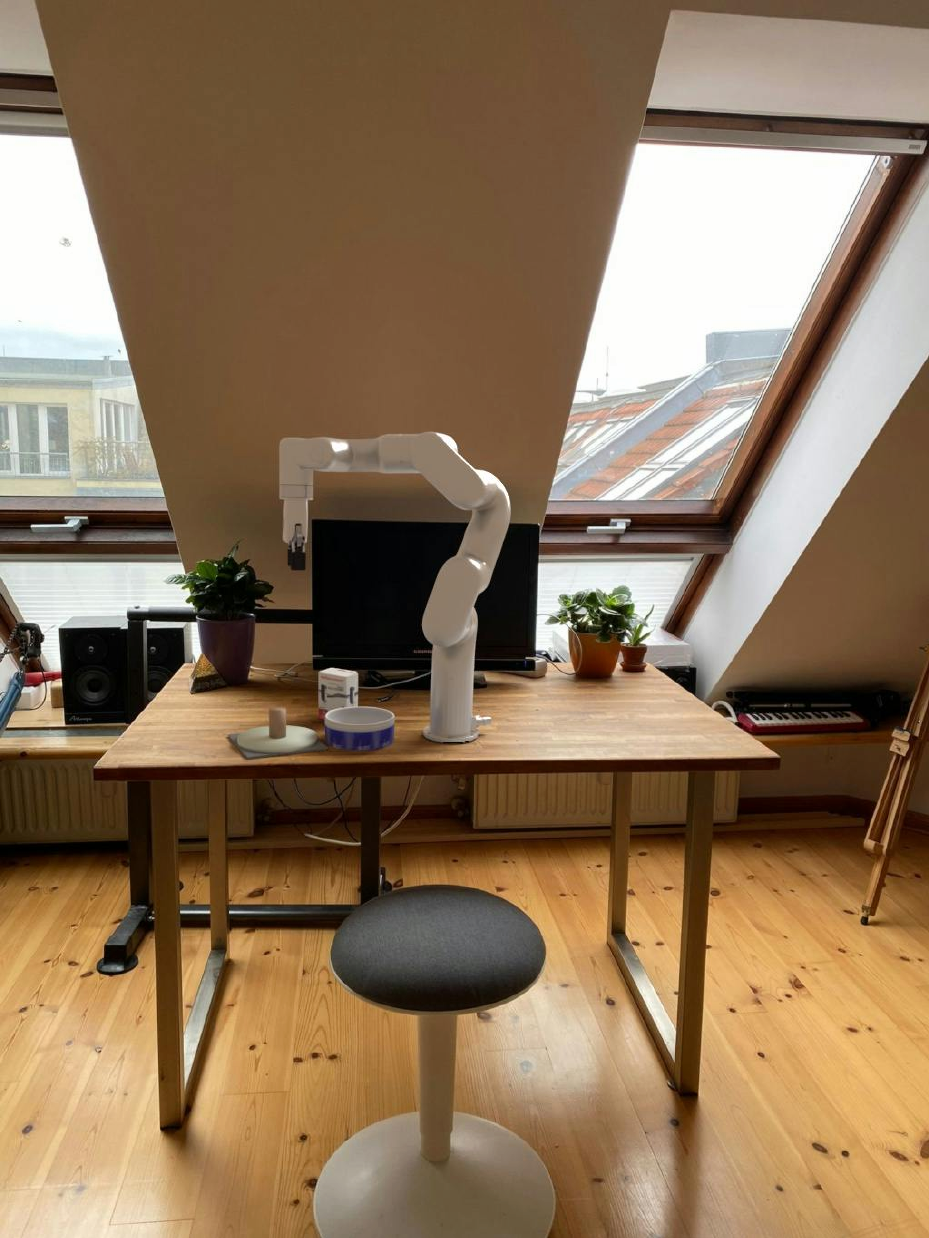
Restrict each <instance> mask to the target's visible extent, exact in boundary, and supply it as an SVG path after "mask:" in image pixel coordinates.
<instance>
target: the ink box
mask: <svg viewBox="0 0 929 1238" xmlns="http://www.w3.org/2000/svg"><path fill="white" fill-rule="evenodd" d="M317 677H318V680H317V681H318V683H317V684H318V690H317V691H318V692H317V694H318V719H319V720H323V721H325V714H326V713H327V712H329V711H331V710H334V709H338V708H344V707H359V673H358V672H357V671H353V670H347V669H341V668H335V667H330V668H326V669H324V670H320V671H318V673H317Z"/></svg>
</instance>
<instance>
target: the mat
mask: <svg viewBox="0 0 929 1238" xmlns="http://www.w3.org/2000/svg"><path fill="white" fill-rule="evenodd" d="M299 727H304V725H302V726H301V725H300V726H299ZM240 733H241V732H239V733H238V732H237V733H229V734H227V737H228V739H229V740H230V741H231V742H232V744H234V745H235V747H236V748H237V749H238V750H239V751H240V752H241V754H242V755H243V756H244V757H245V758H246V760H256V759H262V758H270V757H279V756H278V755H280V756H287V755H286V754H288V755H295V753H296V754H302V753H304V754H305V753H310V752H319V751H327V750H328V746H327V745H325V744H324V743H323V741H320V739H319V738H317V742H316V744H314V745H313V746H311V747H309V748H306V749H303V750H299V751H294V752H287V753H261V752H253V751H249V750H246V749H243V748H241V747H240V746H238V744H237V736H238V735H239V734H240Z"/></svg>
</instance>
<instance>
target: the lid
mask: <svg viewBox="0 0 929 1238" xmlns="http://www.w3.org/2000/svg"><path fill="white" fill-rule="evenodd" d="M239 733H240V734H239V735H238V736H237V744H238V746H240V747H241V748H243V749H246V750H249V751H253V752H261V753H287V752H294V751H299V750H303V749H306V748H309V747H311V746H313V745H314V744H316V742H317V739H318V734H317V732H316V731H315V730H313V729H310V728H307V727H304V726H303V727H300V726H297V725H289V724H288V725H287V709H286V708H285V707H271V708H269V709H268V725H265V726H257V727H255V728H254V727H252V728H250V729H247V730H244V731H242V732H239Z"/></svg>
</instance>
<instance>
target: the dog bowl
mask: <svg viewBox="0 0 929 1238" xmlns="http://www.w3.org/2000/svg"><path fill="white" fill-rule="evenodd" d="M395 717H396V716H395V714H394V713H393V712H392V711H390V710H388V709H384V708H380V707H375V706H358V707H344V708H338V709H334V710H331V711H329V712H327V713H326V714H325V720H324V741H325V743H326V744H327V745H328V746H330V747H331V748H334V749H337V750H342V751H350V752H351V751H352V752H364V751H365V752H366V751H375V750H381V749H383V748H388V747H389V746H391V745H392V744H393V743H394V739H395V738H394V737H395V719H396V718H395Z"/></svg>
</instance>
